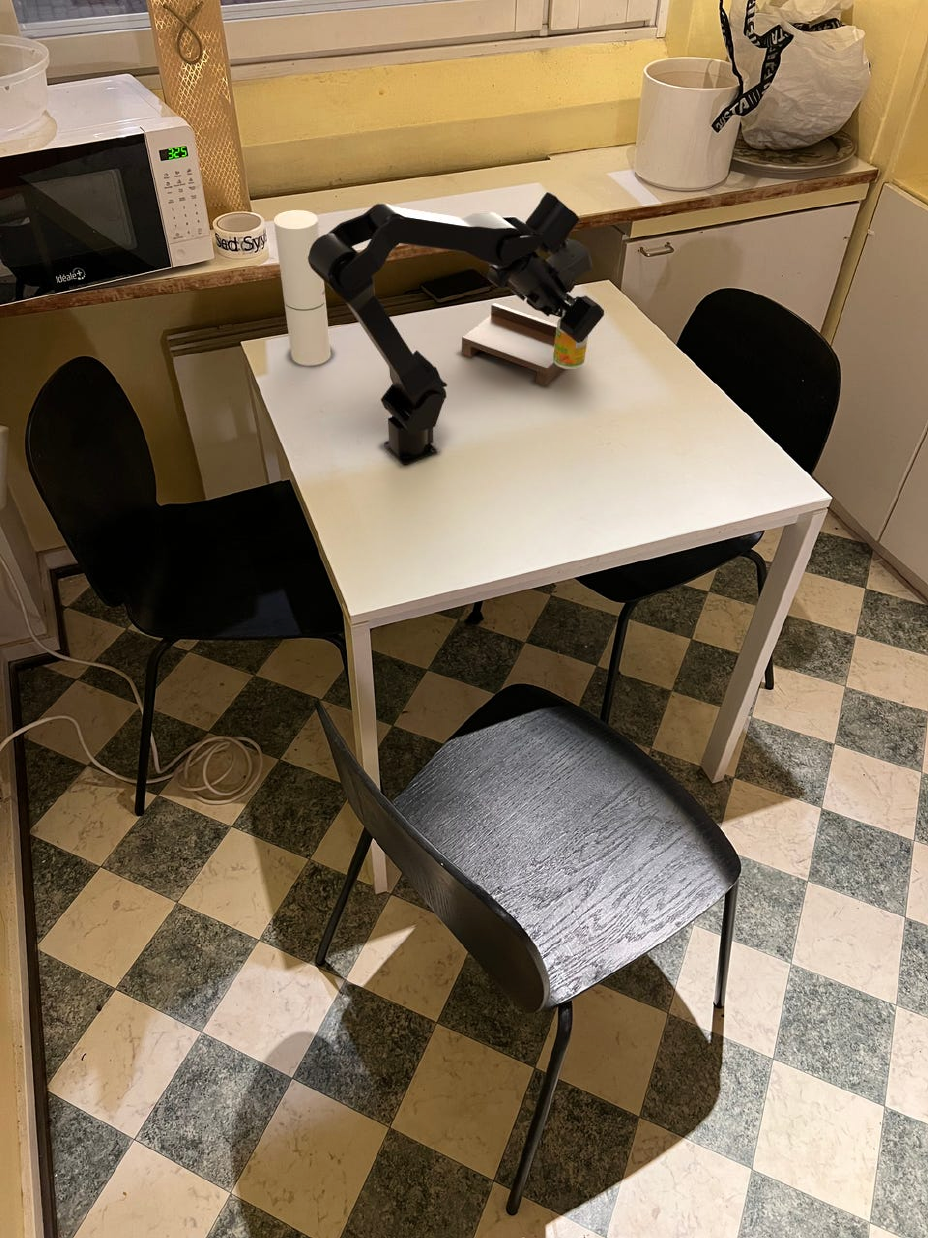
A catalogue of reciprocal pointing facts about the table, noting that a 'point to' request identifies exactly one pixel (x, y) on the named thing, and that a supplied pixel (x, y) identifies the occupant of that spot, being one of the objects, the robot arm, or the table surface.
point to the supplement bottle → (568, 349)
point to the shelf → (516, 341)
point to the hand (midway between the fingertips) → (579, 324)
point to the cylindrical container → (302, 287)
